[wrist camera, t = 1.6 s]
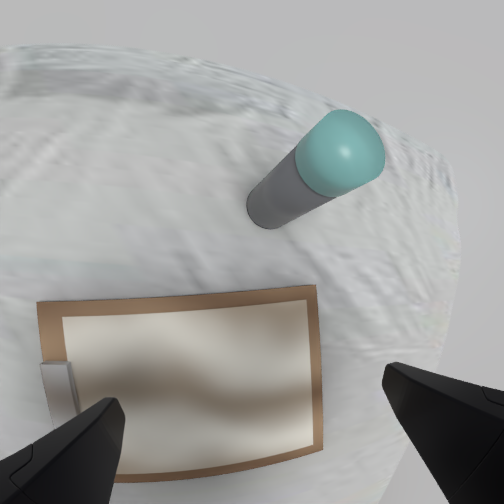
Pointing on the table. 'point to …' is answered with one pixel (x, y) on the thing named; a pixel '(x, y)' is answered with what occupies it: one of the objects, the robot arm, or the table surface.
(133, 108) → the table surface
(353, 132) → the marker
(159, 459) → the clipboard
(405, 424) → the robot arm
